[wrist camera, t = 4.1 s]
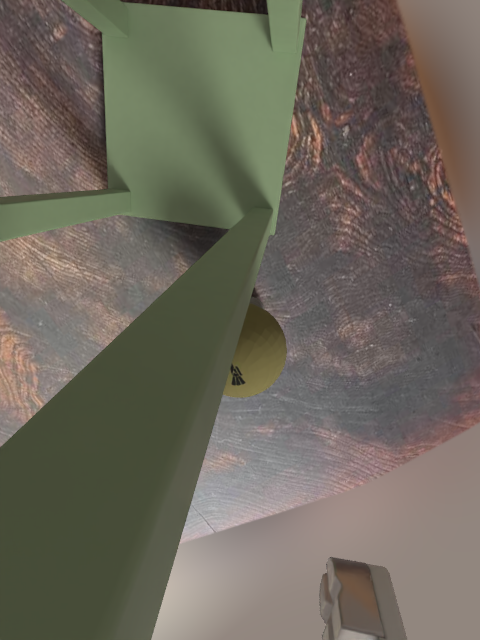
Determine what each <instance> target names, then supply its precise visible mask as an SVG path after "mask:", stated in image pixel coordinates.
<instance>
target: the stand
mask: <svg viewBox="0 0 480 640" xmlns="http://www.w3.org/2000/svg"><path fill="white" fill-rule="evenodd" d="M61 1H63V2H64V3H65V4H66V5H68V6H69V7H70V8H72V9H73V10H74V11H75V12H77V13H78V14H79V15H81V16H82V17H83V18H84V19H86V20H87V21H88V22H90V23H91V24H92V25H93V26H95V27H96V28H97V29H99V30H100V31H101V32H102V48H103V73H104V98H105V124H106V149H107V174H108V189H103V190H90V191H76V192H62V193H49V194H35V195H21V196H7V197H0V242H1V241H5V240H10V239H14V238H18V237H23V236H27V235H32V234H36V233H40V232H45V231H49V230H53V229H58V228H62V227H67V226H71V225H75V224H80V223H84V222H88V221H93V220H97V219H101V218H106V217H110V216H115V215H126V216H134V217H141V218H149V219H156V220H164V221H171V222H179V223H186V224H194V225H201V226H209V227H216V228H224V229H230V230H229V231H228V232H227V233H226V234H225V235H224V236H223V237H222V238H221V239H220V240H219V241H218V242H216V243H215V244H214V245H213V246H212V247H211V248H210V249H209V250H208V251H207V252H206V253H205V254H204V255H203V256H202V257H201V258H200V259H199V260H198V261H196V262H195V263H194V264H193V265H192V266H191V267H190V268H189V269H188V270H187V271H186V272H185V273H184V274H183V275H182V276H181V277H180V278H179V279H177V280H176V281H175V282H174V283H173V284H172V285H171V286H170V287H169V288H168V289H167V290H166V291H165V292H164V293H163V294H162V295H161V296H160V297H158V298H157V299H156V300H155V301H154V302H153V303H152V304H151V305H150V306H149V307H148V308H147V309H146V310H145V311H144V312H143V313H142V314H141V315H140V316H138V317H137V318H136V319H135V320H134V321H133V322H132V323H131V324H130V325H129V326H128V327H127V328H126V329H125V330H124V331H123V332H122V333H121V334H119V335H118V336H117V337H116V338H115V339H114V340H113V341H112V342H111V343H110V344H109V345H108V346H107V347H106V348H105V349H104V350H103V351H102V352H100V353H99V354H98V355H97V356H96V357H95V358H94V359H93V360H92V361H91V362H90V363H89V364H88V365H87V366H86V367H85V368H84V369H83V370H82V371H80V372H79V373H78V374H77V375H76V376H75V377H74V378H73V379H72V380H71V381H70V382H69V383H68V384H67V385H66V386H65V387H64V388H63V389H61V390H60V391H59V392H58V393H57V394H56V395H55V396H54V397H53V398H52V399H51V400H50V401H49V402H48V403H47V404H46V405H45V406H44V407H42V408H41V409H40V410H39V411H38V412H37V413H36V414H35V415H34V416H33V417H32V418H31V419H30V420H29V421H28V422H27V423H26V424H25V425H24V426H22V427H21V428H20V429H19V430H18V431H17V432H16V433H15V434H14V435H13V436H12V437H11V438H10V439H9V440H8V441H7V442H6V443H5V444H3V445H2V446H1V447H0V640H151V638H152V634H153V631H154V627H155V624H156V621H157V617H158V614H159V610H160V607H161V604H162V600H163V597H164V593H165V590H166V586H167V583H168V580H169V576H170V573H171V569H172V566H173V562H174V559H175V556H176V552H177V549H178V545H179V542H180V539H181V535H182V532H183V528H184V525H185V521H186V518H187V515H188V511H189V508H190V504H191V501H192V498H193V494H194V491H195V487H196V484H197V480H198V477H199V474H200V470H201V467H202V463H203V460H204V456H205V453H206V450H207V446H208V443H209V439H210V436H211V433H212V429H213V426H214V422H215V419H216V415H217V412H218V409H219V405H220V402H221V398H222V395H223V391H224V388H225V385H226V381H227V378H228V374H229V371H230V368H231V364H232V361H233V357H234V354H235V350H236V347H237V344H238V340H239V337H240V333H241V330H242V327H243V323H244V320H245V316H246V313H247V309H248V306H249V303H250V299H251V296H252V292H253V289H254V285H255V282H256V279H257V275H258V272H259V268H260V265H261V262H262V258H263V255H264V251H265V248H266V244H267V241H268V238H269V235H274V234H275V229H276V222H277V216H278V209H279V202H280V195H281V189H282V182H283V175H284V168H285V162H286V155H287V148H288V142H289V135H290V128H291V121H292V115H293V108H294V101H295V94H296V88H297V81H298V74H299V68H300V61H301V54H302V47H303V41H304V34H305V27H306V18H301V11H302V0H267V9H268V15H266V14H254V13H243V12H232V11H220V10H209V9H197V8H186V7H175V6H163V5H152V4H140V3H129V2H121V1H120V0H61Z"/></svg>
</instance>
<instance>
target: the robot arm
mask: <svg viewBox="0 0 480 640" xmlns="http://www.w3.org/2000/svg"><path fill="white" fill-rule="evenodd" d="M326 565H327V573H325V574H323V576H322V580H321V584H320V595H319V596H320V615H321V617H322V619H323V620H324V622H325V623H326V626H325V629H324V632H323V635H322V639H323V640H407V637H406V633H405V630H404V626H403V622H402V618H401V615H400V611H399V607H398V604H397V600H396V596H395V593H394V589H393V585H392V582H391V578H390V574H389V572H388V570H387V569H386V568H385V567H382V566H376V565H370V564H366V563H362V562H356V561H350V560H344V559H338V558H333V557H330V558H329V559H328V561H327V564H326Z"/></svg>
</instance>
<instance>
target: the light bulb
mask: <svg viewBox="0 0 480 640" xmlns="http://www.w3.org/2000/svg"><path fill="white" fill-rule="evenodd" d="M286 354H287V348H286V339H285V336H284V333H283V330H282V329H281V327H280V325H279V323H278V322H277V321H276V319H275V318H274V317H273V316H272V315H271V314H270V313H268V312H267V311H266V310H265V308H264V306H263V304H262V302H261V301H260V300H258V299H256V298H254V297H251V299H250V303H249V306H248V309H247V313H246V316H245V320H244V323H243V327H242V330H241V333H240V337H239V340H238V344H237V347H236V350H235V354H234V357H233V361H232V364H231V368H230V371H229V374H228V378H227V381H226V385H225V388H224V391H223V395H226V396H230V397H240V398H243V397H250V396H253V395H256V394H259V393H261V392H262V391H264V390H266V389H267V388H269V387H270V386H271V385H272V384H273V383H274V382H275V381H276V379H277V378H278V377H279V375H280V374H281V372H282V369H283V367H284V365H285V360H286Z"/></svg>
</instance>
